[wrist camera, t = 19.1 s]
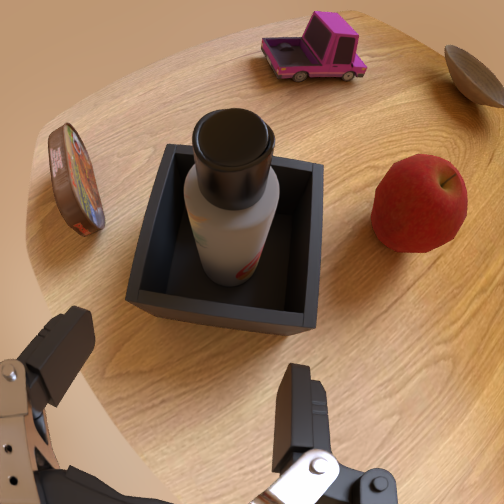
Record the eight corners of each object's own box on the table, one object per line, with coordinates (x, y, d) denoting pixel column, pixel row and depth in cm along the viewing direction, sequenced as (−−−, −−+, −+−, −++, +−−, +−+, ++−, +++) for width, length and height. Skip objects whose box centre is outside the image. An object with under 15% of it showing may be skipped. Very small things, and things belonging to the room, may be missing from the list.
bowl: (491, 99, 51) (506, 80, 43) (494, 139, 45) (515, 118, 38) (433, 57, 53) (446, 35, 45) (427, 88, 47) (444, 61, 40)
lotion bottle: (267, 255, 32) (319, 125, 13) (235, 298, 31) (249, 209, 12) (223, 225, 33) (223, 76, 14) (190, 266, 31) (144, 142, 12)
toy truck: (362, 86, 44) (382, 43, 35) (278, 88, 42) (288, 37, 32) (336, 51, 47) (350, 11, 38) (258, 52, 45) (264, 5, 35)
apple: (380, 179, 38) (431, 114, 25) (433, 230, 36) (498, 181, 23) (339, 229, 35) (393, 163, 22) (399, 285, 33) (476, 247, 20)
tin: (111, 239, 32) (82, 206, 25) (88, 250, 32) (54, 221, 24) (88, 147, 36) (67, 108, 28) (69, 157, 36) (45, 119, 28)
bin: (154, 316, 30) (124, 300, 21) (180, 196, 35) (166, 143, 25) (289, 335, 31) (315, 328, 21) (299, 213, 35) (323, 164, 26)
